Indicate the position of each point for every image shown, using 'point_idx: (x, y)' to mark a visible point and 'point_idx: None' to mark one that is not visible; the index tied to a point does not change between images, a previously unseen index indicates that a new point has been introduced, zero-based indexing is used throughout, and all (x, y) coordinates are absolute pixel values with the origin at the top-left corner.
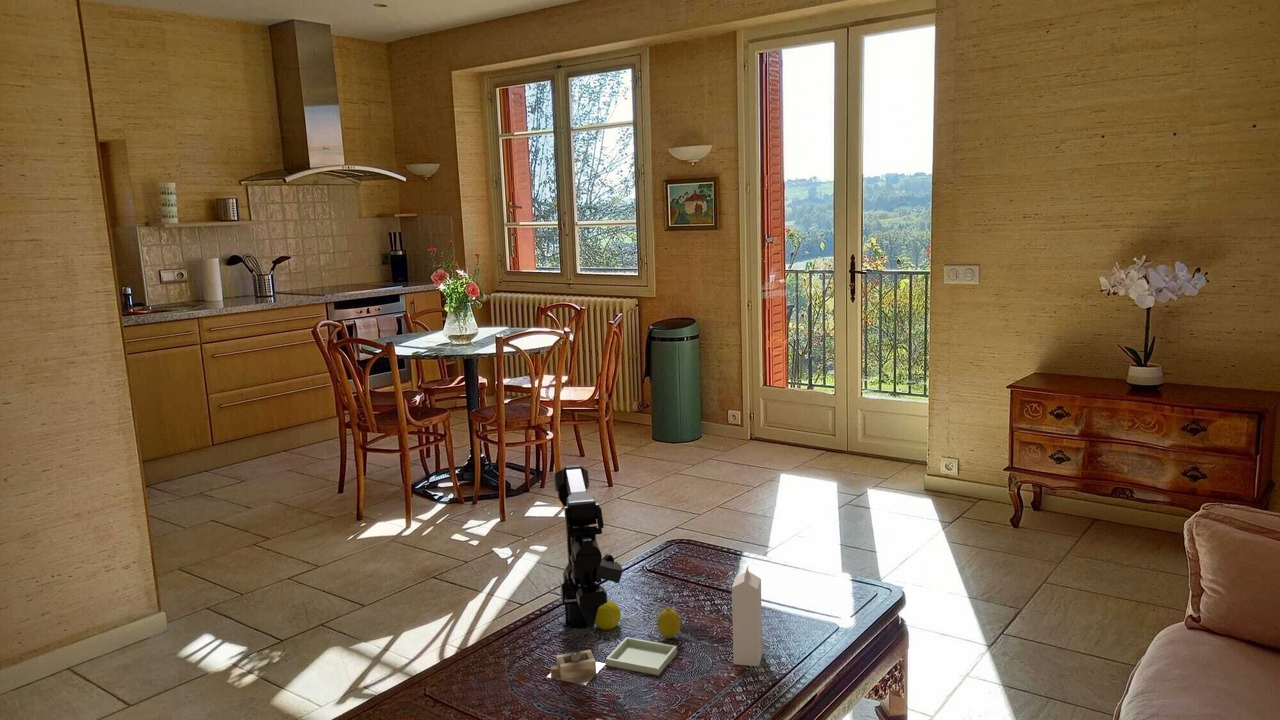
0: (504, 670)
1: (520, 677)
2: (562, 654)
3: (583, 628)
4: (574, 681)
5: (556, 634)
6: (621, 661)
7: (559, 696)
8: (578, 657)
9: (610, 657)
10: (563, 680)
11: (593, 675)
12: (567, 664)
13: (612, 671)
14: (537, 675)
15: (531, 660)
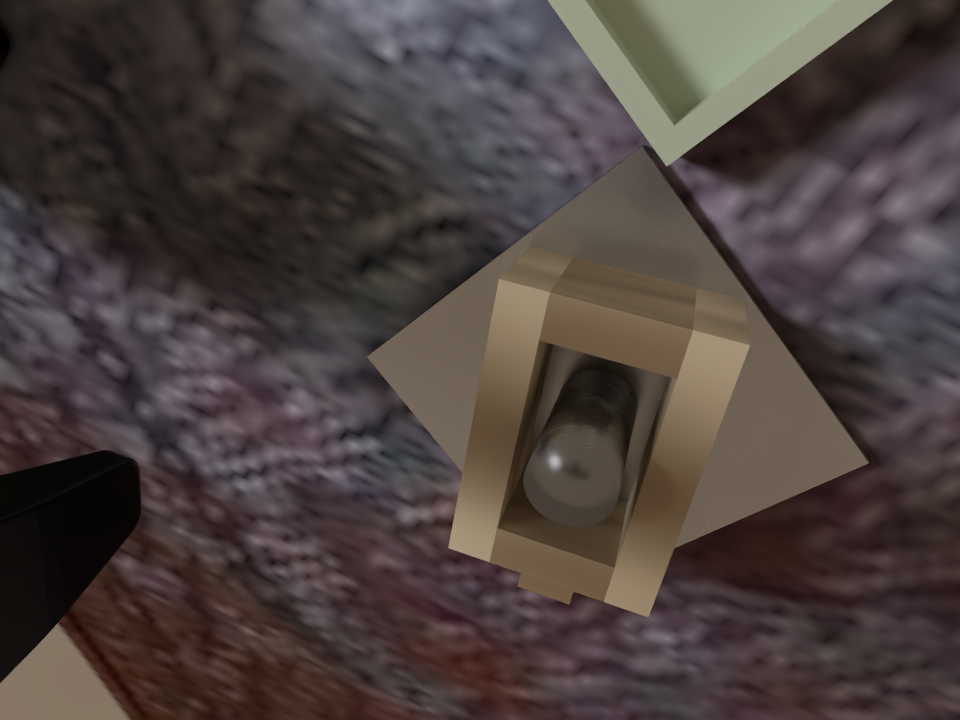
0: (352, 687)
1: (466, 675)
2: (458, 508)
3: (2, 49)
4: (751, 499)
5: (38, 262)
6: (841, 31)
7: (848, 648)
8: (621, 471)
9: (658, 101)
10: (679, 544)
11: (766, 338)
12: (640, 562)
13: (789, 138)
14: (495, 604)
15: (305, 540)
